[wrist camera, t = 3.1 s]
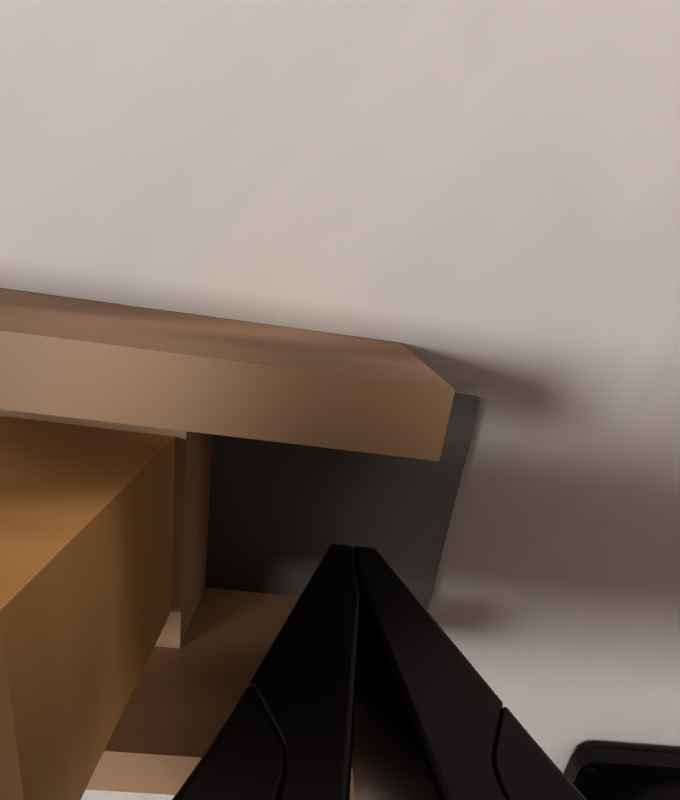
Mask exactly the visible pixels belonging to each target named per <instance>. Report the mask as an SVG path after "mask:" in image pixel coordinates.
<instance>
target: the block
mask: <svg viewBox="0 0 680 800" xmlns="http://www.w3.org/2000/svg"><path fill="white" fill-rule="evenodd" d="M174 471H175V437H174V436H166V435H157V434H149V433H140V432H132V431H123V430H115V429H106V428H98V427H89V426H81V425H72V424H64V423H55V422H47V421H38V420H30V419H21V418H13V417H4V416H0V800H80V799H81V797H82V795H83V793H84V791H85V789H86V787H87V785H88V783H89V781H90V779H91V777H92V775H93V773H94V770H95V768H96V766H97V764H98V762H99V760H100V758H101V756H102V754H103V752H104V750H105V748H106V746H107V744H108V741H109V739H110V737H111V735H112V733H113V731H114V729H115V727H116V725H117V723H118V721H119V719H120V717H121V715H122V713H123V710H124V708H125V706H126V704H127V702H128V700H129V698H130V696H131V694H132V692H133V690H134V688H135V686H136V684H137V681H138V679H139V677H140V675H141V673H142V671H143V669H144V667H145V665H146V663H147V661H148V659H149V657H150V655H151V652H152V650H153V648H154V646H155V644H156V642H157V640H158V638H159V636H160V634H161V632H162V630H163V628H164V626H165V623H166V621H167V619H168V617H169V615H170V613H171V607H172V562H173V516H174Z"/></svg>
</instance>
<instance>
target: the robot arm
mask: <svg viewBox="0 0 680 800" xmlns="http://www.w3.org/2000/svg"><path fill="white" fill-rule="evenodd" d="M502 707H503V703H502V701H501V700H500V699H499V698H498V696H497V695H496V694H495V693H494V691H493V690H492V689H491V688H490V687H489V685H488V684H487V683H486V682H485V681H484V679H483V678H482V677H481V676H480V675H479V673H478V672H477V671H476V670H475V668H474V667H473V666H472V665H471V664H470V662H469V661H468V660H467V659H466V658H465V656H464V655H463V654H462V653H461V652H460V650H459V649H458V648H457V647H456V645H455V644H454V643H453V642H452V641H451V639H450V638H449V637H448V636H447V635H446V633H445V632H444V631H443V630H442V629H441V627H440V626H439V625H438V624H437V622H436V621H435V620H434V619H433V618H432V616H431V615H430V614H429V613H428V612H427V610H426V609H425V608H424V607H423V606H422V604H421V603H420V602H419V601H418V599H417V598H416V597H415V596H414V595H413V593H412V592H411V591H410V590H409V589H408V587H407V586H406V585H405V584H404V583H403V581H402V580H401V579H400V578H399V577H398V575H397V574H396V573H395V572H394V570H393V569H392V568H391V567H390V566H389V564H388V563H387V562H386V561H385V560H384V558H383V557H382V556H381V555H380V554H379V552H378V551H377V550H376V549H374V548H370V547H360V546H356V547H354V548H352V547H351V546H350V545H341V544H331V545H330V547H329V548H328V550H327V552H326V553H325V555H324V557H323V559H322V560H321V562H320V564H319V565H318V567H317V569H316V570H315V572H314V574H313V575H312V577H311V579H310V581H309V582H308V584H307V586H306V587H305V589H304V591H303V592H302V594H301V596H300V597H299V599H298V601H297V603H296V604H295V606H294V608H293V609H292V611H291V613H290V614H289V616H288V618H287V620H286V621H285V623H284V625H283V626H282V628H281V630H280V631H279V633H278V635H277V636H276V638H275V640H274V642H273V643H272V645H271V647H270V648H269V650H268V652H267V653H266V655H265V657H264V658H263V660H262V662H261V664H260V665H259V667H258V669H257V670H256V672H255V674H254V675H253V677H252V679H251V680H250V682H249V686H248V687H246V688H245V690H244V692H243V693H242V695H241V697H240V699H239V700H238V702H237V704H236V705H235V707H234V709H233V710H232V712H231V714H230V715H229V717H228V718H227V720H226V721H225V723H224V725H223V726H222V728H221V729H220V731H219V733H218V734H217V736H216V737H215V739H214V740H213V742H212V744H211V745H210V747H209V748H208V750H207V751H206V753H205V754H204V756H203V757H202V759H201V760H200V761H199V763H198V764H197V766H196V767H195V768H194V770H193V771H192V773H191V774H190V775H189V777H188V778H187V780H186V781H185V782H184V784H183V785H182V787H181V788H180V789H179V791H178V792H177V794H176V795H175V796H174V798H173V799H172V800H350V782H351V764H352V769H353V780H354V790H355V800H680V754H674V753H660V752H647V751H633V750H620V749H606V748H593V747H588V748H582V749H580V750H578V751H576V752H575V753H574V754H573V755H572V756H571V758H570V760H569V763H568V765H567V767H566V770H565V772H564V774H563V773H562V772H561V771H560V770H559V768H558V767H557V766H556V765H555V764H554V763H553V761H552V760H551V759H550V758H549V757H548V756H547V754H546V753H545V752H544V751H543V750H542V749H541V747H540V746H539V745H538V744H537V743H536V742H535V740H534V739H533V738H532V737H531V736H530V735H529V733H528V732H527V731H526V730H525V729H524V727H523V726H522V725H521V724H520V723H519V721H518V720H517V719H516V718H515V717H514V715H513V714H512V713H511V712H510V710H509V709H508V708H506V707H503V708H502Z"/></svg>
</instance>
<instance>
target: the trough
mask: <svg viewBox="0 0 680 800" xmlns="http://www.w3.org/2000/svg"><path fill="white" fill-rule="evenodd" d="M479 402H480V399H479V398H478V397H475V396H467V395H459V394H455V389H454V388H453V387H452V386H451V385H449V384H448V383H447V382H446V381H445V380H444V379H442V378H441V377H440V376H439V375H438V374H437V373H435V372H434V371H433V370H432V369H431V368H430V367H428V366H427V365H426V364H425V363H424V362H423V361H421V360H420V359H419V358H418V357H417V356H416V355H414V354H413V353H412V352H411V351H410V350H409V349H407V348H406V347H405V346H404V345H403V344H402V343H397V342H390V341H382V340H375V339H368V338H360V337H353V336H346V335H338V334H331V333H324V332H317V331H309V330H302V329H295V328H287V327H280V326H273V325H265V324H258V323H251V322H244V321H236V320H229V319H222V318H214V317H207V316H200V315H192V314H185V313H178V312H171V311H163V310H156V309H149V308H141V307H134V306H127V305H119V304H112V303H105V302H98V301H90V300H83V299H76V298H68V297H61V296H54V295H46V294H39V293H32V292H25V291H17V290H10V289H3V288H0V416H4V417H13V418H21V419H30V420H38V421H47V422H55V423H64V424H72V425H81V426H89V427H98V428H106V429H115V430H123V431H132V432H140V433H149V434H157V435H166V436H174V437H175V471H174V516H173V562H172V607H171V613H170V615H169V617H168V619H167V621H166V623H165V626H164V628H163V630H162V632H161V634H160V636H159V638H158V640H157V642H156V644H155V646H154V648H153V650H152V652H151V655H150V657H149V659H148V661H147V663H146V665H145V667H144V669H143V671H142V673H141V675H140V677H139V679H138V681H137V684H136V686H135V688H134V690H133V692H132V694H131V696H130V698H129V700H128V702H127V704H126V706H125V708H124V710H123V713H122V715H121V717H120V719H119V721H118V723H117V725H116V727H115V729H114V731H113V733H112V735H111V737H110V739H109V741H108V744H107V746H106V748H105V750H104V752H103V754H102V756H101V758H100V760H99V762H98V764H97V766H96V768H95V770H94V773H93V775H92V777H91V779H90V781H89V783H88V785H87V787H86V789H89V790H105V791H121V792H137V793H154V794H170V795H176V794H177V792H178V791H179V789H180V788H181V787H182V785H183V784H184V782H185V781H186V780H187V778H188V777H189V775H190V774H191V773H192V771H193V770H194V768H195V767H196V766H197V764H198V763H199V761H200V760H201V759H202V757H203V756H204V754H205V753H206V751H207V750H208V748H209V747H210V745H211V744H212V742H213V740H214V739H215V737H216V736H217V734H218V733H219V731H220V729H221V728H222V726H223V725H224V723H225V721H226V720H227V718H228V717H229V715H230V714H231V712H232V710H233V709H234V707H235V705H236V704H237V702H238V700H239V699H240V697H241V695H242V693H243V692H244V690H245V688H246V687H248V686H249V682H250V680H251V679H252V677H253V675H254V674H255V672H256V670H257V669H258V667H259V665H260V664H261V662H262V660H263V658H264V657H265V655H266V653H267V652H268V650H269V648H270V647H271V645H272V643H273V642H274V640H275V638H276V636H277V635H278V633H279V631H280V630H281V628H282V626H283V625H284V623H285V621H286V620H287V618H288V616H289V614H290V613H291V611H292V609H293V608H294V606H295V604H296V603H297V601H298V599H299V597H300V596H301V594H302V592H303V591H304V589H305V587H306V586H307V584H308V582H309V581H310V579H311V577H312V575H313V574H314V572H315V570H316V569H317V567H318V565H319V564H320V562H321V560H322V559H323V557H324V555H325V553H326V552H327V550H328V548H329V547H330V545H331V544H341V545H350V546H351V547H352V548H354V547H356V546H360V547H370V548H374V549H376V550H377V551H378V552H379V554H380V555H381V556H382V557H383V558H384V560H385V561H386V562H387V563H388V564H389V566H390V567H391V568H392V569H393V570H394V572H395V573H396V574H397V575H398V577H399V578H400V579H401V580H402V581H403V583H404V584H405V585H406V586H407V587H408V589H409V590H410V591H411V592H412V593H413V595H414V596H415V597H416V598H417V599H418V601H419V602H420V603H421V604H422V606H423V607H424V608H426V609H428V606H429V602H430V598H431V594H432V590H433V586H434V582H435V578H436V574H437V570H438V566H439V562H440V558H441V554H442V550H443V546H444V542H445V538H446V534H447V530H448V526H449V522H450V518H451V514H452V510H453V506H454V502H455V498H456V494H457V490H458V486H459V482H460V478H461V474H462V470H463V466H464V462H465V458H466V454H467V450H468V446H469V442H470V438H471V434H472V430H473V426H474V422H475V418H476V414H477V410H478V406H479ZM350 800H355V790H354V780H353V769H352V764H351V782H350Z"/></svg>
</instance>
